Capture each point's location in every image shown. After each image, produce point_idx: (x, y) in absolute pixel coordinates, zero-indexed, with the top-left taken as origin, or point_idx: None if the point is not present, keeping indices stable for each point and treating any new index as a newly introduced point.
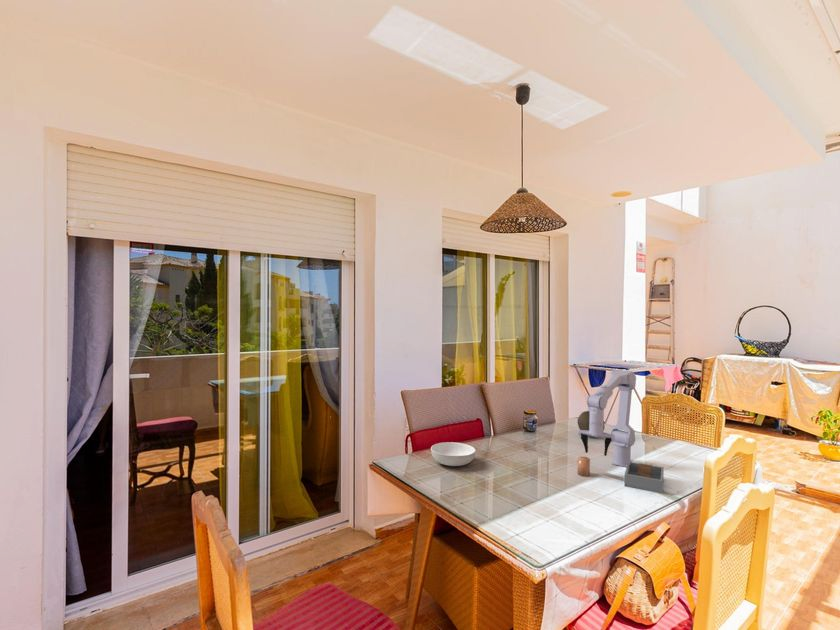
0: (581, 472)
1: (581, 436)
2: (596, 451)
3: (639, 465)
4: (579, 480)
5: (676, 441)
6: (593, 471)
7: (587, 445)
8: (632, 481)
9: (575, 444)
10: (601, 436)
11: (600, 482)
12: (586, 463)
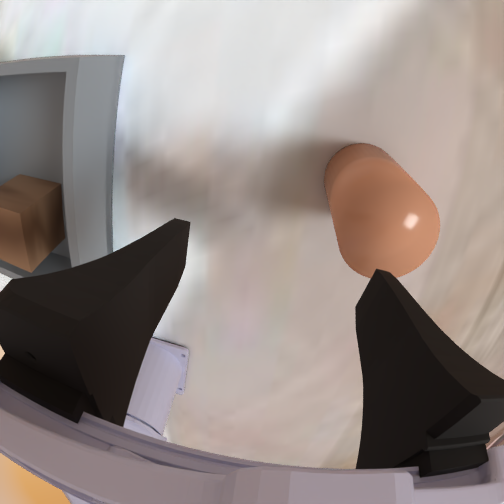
0: (388, 155)
1: (485, 432)
2: (244, 430)
3: (19, 234)
4: (405, 63)
5: None
6: (289, 246)
7: (371, 356)
8: (66, 56)
9: (304, 454)
10: (118, 455)
11: (266, 58)
12: (372, 175)
